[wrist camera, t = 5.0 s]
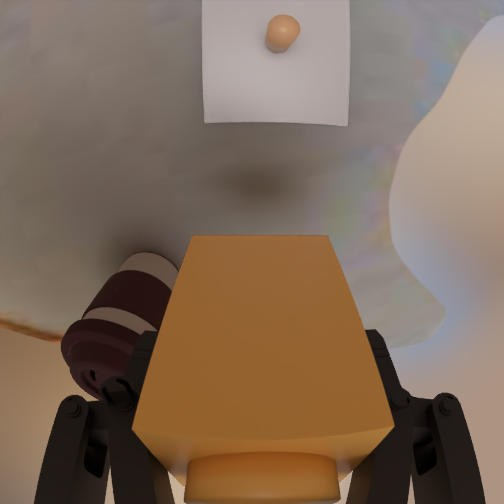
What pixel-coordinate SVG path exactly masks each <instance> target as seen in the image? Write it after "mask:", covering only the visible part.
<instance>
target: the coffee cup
mask: <svg viewBox="0 0 504 504" xmlns="http://www.w3.org/2000/svg"><path fill="white" fill-rule="evenodd" d="M178 274H179V273H178V271H177V270H176V268H175V267H174V266H173V264H172V263H170V262H169V261H168V260H167V259H165V258H163V257H162V256H159V255H157V254H153V253H144V252H142V253H137V254H134V255H132V256H130V257H129V258H128V259H127V260H126V261H125V262H124V263H123V264H122V266H121V267H120V268H119V270H118V271H117V272H116V274H114V275H113V276H111V277H110V278H109V279H108V281H107V282H106V283H105V285H104V286H103V287H102V289H101V290H100V291H99V293H98V294H97V295H96V297H95V298H94V300H93V301H92V302H91V304H90V305H89V306H88V308H87V309H86V311H85V312H84V314H83V316H82V319H81V320H78V321H76V322H74V323H73V324H72V325H71V326H70V327H69V328H68V330H67V332H66V333H65V335H64V337H63V339H62V341H61V352H62V355H63V358H64V359H65V361H66V363H67V365H68V366H69V367H70V373H71V375H72V378H73V379H74V380H75V382H76V383H77V384H78V385H79V386H80V387H81V388H82V389H83V390H84V391H85V392H87V393H88V394H90V395H91V396H93V397H94V398H96V399H98V400H103V398H102V397H101V395H100V394H99V389H100V386H101V385H102V383H103V382H104V381H105V380H107V379H108V378H109V377H113V376H116V375H117V376H124V375H125V372H126V369H127V366H128V363H129V360H130V358H131V355H132V352H133V350H134V346H135V344H136V341H137V339H138V337H139V336H140V335H141V334H142V333H143V332H144V331H145V330H149V331H160V328H161V324H162V321H163V318H164V315H165V312H166V309H167V306H168V303H169V300H170V297H171V294H172V291H173V288H174V285H175V282H176V279H177V277H178Z"/></svg>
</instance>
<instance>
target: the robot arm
mask: <svg viewBox="0 0 504 504" xmlns="http://www.w3.org/2000/svg"><path fill="white" fill-rule="evenodd" d="M365 332H366V335H367V338H368V341H369V344H370V347H371V350H372V353H373V356H374V359H375V362H376V365H377V368H378V371H379V374H380V377H381V380H382V384H383V387H384V390H385V394H386V397H387V400H388V404H389V407H390V411H391V414H392V418H393V421H394V425H395V426H394V427H393V429H392V430H391V431H390V432H389V433H388V434H387V435H386V437H385V438H384V439H383V440H382V441H381V442H380V443H379V444H378V445H377V446H376V447H375V448H374V449H373V451H372V452H371V453H370V454H369V455H368V456H367V457H366V458H365V459H364V460H363V461H362V462H361V463H360V464H359V465H358V466H357V467H356V468H354V469H353V473H352V478H351V483H350V488H349V493H348V497H347V501H346V504H407V502H408V494H409V486H410V477H411V476H412V482H413V490H414V497H415V504H486V503H485V497H484V491H483V486H482V481H481V476H480V472H479V467H478V463H477V459H476V455H475V451H474V447H473V443H472V440H471V436H470V433H469V430H468V426H467V423H466V420H465V417H464V414H463V410H462V408H461V404H460V403H459V401H458V399H457V398H456V397H455V396H454V395H452V394H450V393H441V394H438V395H437V396H436V397H435V398H434V399H424V398H416V397H413V396H411V395H410V393H409V392H408V391H406V390H405V389H403V388H402V387H401V385H400V382H399V379H398V376H397V374H396V371H395V368H394V365H393V362H392V360H391V357H390V354H389V352H388V349H387V346H386V344H385V341H384V339H383V337H382V336H381V335H380V334H379V333H378V332H377V330H376V329H371V330H365ZM158 334H159V331H149V330H145V331H144V332H143V333H142V334H141V335H140V336H139V337H138V339H137V341H136V344H135V346H134V350H133V352H132V355H131V358H130V360H129V363H128V366H127V369H126V372H125V375H124V376H117V375H116V376H113V377H109V378H108V379H107V380H105V381H104V382H103V383H102V385H101V386H100V389H99V394H100V395H101V397H102V398H103V400H98V401H90V402H89V401H88V402H87V401H86V400H85V399H84V398H83V397H81V396H79V395H71V396H68V397H66V398H65V399H64V400H63V401H62V402H61V404H60V406H59V408H58V411H57V414H56V417H55V421H54V424H53V427H52V431H51V434H50V437H49V441H48V444H47V448H46V452H45V455H44V459H43V463H42V468H41V472H40V476H39V481H38V485H37V490H36V495H35V501H34V504H104V503H105V495H106V488H107V481H108V475H109V469H110V468H111V478H112V486H113V494H114V501H115V504H175V502H174V498H173V494H172V489H171V485H170V480H169V475H168V470H167V469H166V468H165V467H164V466H163V465H162V464H161V463H160V462H159V461H158V459H157V458H156V457H155V456H154V455H153V454H152V453H151V452H150V450H149V449H148V448H147V447H146V446H145V445H144V443H143V442H142V441H141V440H140V439H139V437H138V436H137V435H136V434H135V432H134V431H133V430H132V426H133V422H134V418H135V414H136V410H137V406H138V403H139V399H140V395H141V392H142V388H143V384H144V381H145V377H146V374H147V370H148V367H149V364H150V360H151V357H152V353H153V350H154V347H155V344H156V340H157V337H158Z"/></svg>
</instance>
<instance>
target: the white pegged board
mask: <svg viewBox="0 0 504 504" xmlns="http://www.w3.org/2000/svg"><path fill="white" fill-rule="evenodd" d="M202 70H203V104H204V123H225V122H287V123H310V124H325V125H338V126H348V109H349V87H350V8H349V0H202Z"/></svg>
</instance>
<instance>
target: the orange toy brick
mask: <svg viewBox="0 0 504 504" xmlns="http://www.w3.org/2000/svg"><path fill="white" fill-rule="evenodd" d="M394 426H395V425H394V421H393V418H392V414H391V411H390V407H389V404H388V400H387V397H386V394H385V390H384V387H383V384H382V380H381V377H380V374H379V371H378V368H377V365H376V362H375V359H374V356H373V353H372V350H371V347H370V344H369V341H368V338H367V335H366V332H365V329H364V327H363V324H362V321H361V318H360V316H359V313H358V310H357V307H356V305H355V302H354V299H353V297H352V294H351V292H350V289H349V286H348V284H347V281H346V279H345V276H344V274H343V271H342V269H341V266H340V264H339V261H338V259H337V257H336V254H335V252H334V249H333V247H332V245H331V242H330V240H329V237H328V236H326V235H192V238H191V240H190V243H189V246H188V249H187V251H186V254H185V257H184V260H183V262H182V265H181V268H180V271H179V274H178V277H177V279H176V282H175V285H174V288H173V291H172V294H171V297H170V300H169V303H168V306H167V309H166V312H165V315H164V318H163V321H162V324H161V328H160V331H159V334H158V337H157V340H156V344H155V347H154V350H153V353H152V357H151V360H150V364H149V367H148V370H147V374H146V377H145V381H144V384H143V388H142V392H141V395H140V399H139V403H138V406H137V410H136V414H135V418H134V422H133V426H132V430H133V431H134V432H135V434H136V435H137V436H138V437H139V439H140V440H141V441H142V442H143V443H144V445H145V446H146V447H147V448H148V449H149V450H150V452H151V453H152V454H153V455H154V456H155V457H156V458H157V459H158V461H159V462H160V463H161V464H162V465H163V466H164V467H165V468H166V469H167V470H168V471H169V472H170V473H171V474H172V475H173V476H174V477H175V478H176V479H177V481H178V482H180V484H182V485H183V486H185V493H184V502H185V503H186V504H333V503H336V502H338V501H339V500H340V499H341V498H340V489H339V482H340V481H341V480H343V479H344V478H345V477H346V476H347V475H348V474H349V473H350V472H351V471H352V470H353V469H354V468H356V467H357V466H358V465H359V464H360V463H361V462H362V461H363V460H364V459H365V458H366V457H367V456H368V455H369V454H370V453H371V452H372V451H373V449H374V448H375V447H376V446H377V445H378V444H379V443H380V442H381V441H382V440H383V439H384V438H385V437H386V435H387V434H388V433H389V432H390V431H391V430H392V429H393V427H394Z"/></svg>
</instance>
